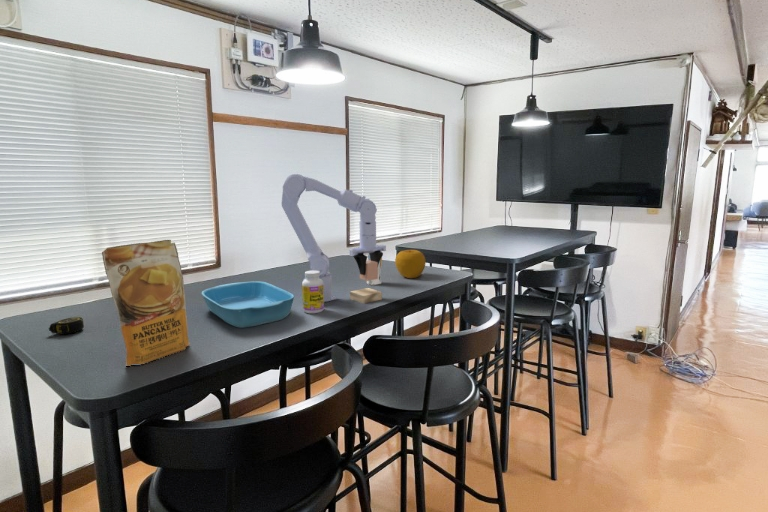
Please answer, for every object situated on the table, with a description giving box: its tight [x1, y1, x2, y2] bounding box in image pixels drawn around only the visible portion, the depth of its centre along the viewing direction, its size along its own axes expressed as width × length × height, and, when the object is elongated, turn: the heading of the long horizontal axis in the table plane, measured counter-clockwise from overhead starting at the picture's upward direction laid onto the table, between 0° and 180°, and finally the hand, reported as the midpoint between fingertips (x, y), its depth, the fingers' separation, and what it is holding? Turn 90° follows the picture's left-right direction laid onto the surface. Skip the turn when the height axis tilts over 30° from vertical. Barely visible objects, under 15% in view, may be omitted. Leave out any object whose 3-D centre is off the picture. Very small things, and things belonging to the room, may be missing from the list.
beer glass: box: [364, 251, 383, 286], centre depth 180 cm, size 7×7×15 cm
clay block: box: [359, 260, 378, 282], centre depth 159 cm, size 4×4×6 cm
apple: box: [394, 249, 427, 279], centre depth 192 cm, size 13×13×11 cm
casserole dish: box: [201, 280, 295, 329], centre depth 144 cm, size 37×22×7 cm, turn 37°
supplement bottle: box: [301, 270, 325, 314], centre depth 145 cm, size 7×7×13 cm
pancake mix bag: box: [101, 239, 191, 368], centre depth 109 cm, size 7×19×28 cm, turn 146°
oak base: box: [349, 287, 383, 304], centre depth 159 cm, size 8×8×3 cm
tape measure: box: [48, 316, 85, 335], centre depth 130 cm, size 7×7×4 cm
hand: (368, 273), depth 159 cm, fingers closed on clay block, 4 cm apart
